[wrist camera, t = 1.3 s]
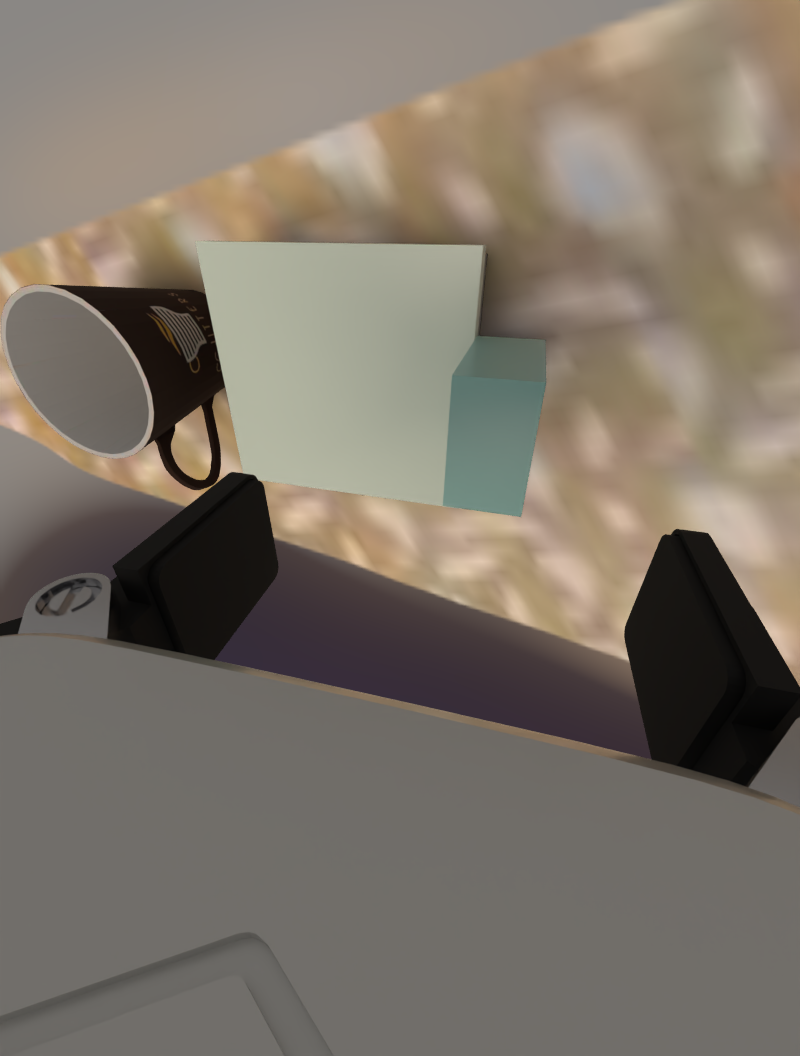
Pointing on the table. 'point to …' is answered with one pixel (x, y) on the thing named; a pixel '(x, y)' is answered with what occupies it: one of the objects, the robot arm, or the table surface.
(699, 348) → the table surface
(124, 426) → the coffee mug
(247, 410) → the board with teal handle
